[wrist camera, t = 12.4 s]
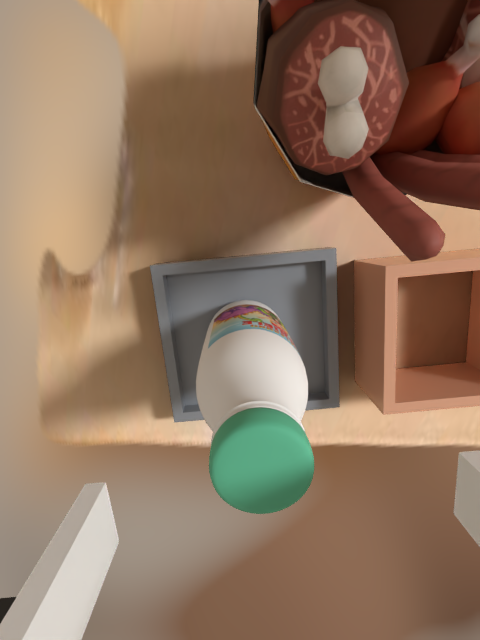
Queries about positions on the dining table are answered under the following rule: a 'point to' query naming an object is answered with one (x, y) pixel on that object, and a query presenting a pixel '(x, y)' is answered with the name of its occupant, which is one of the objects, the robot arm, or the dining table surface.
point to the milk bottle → (254, 409)
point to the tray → (257, 285)
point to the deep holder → (381, 335)
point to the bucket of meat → (376, 104)
